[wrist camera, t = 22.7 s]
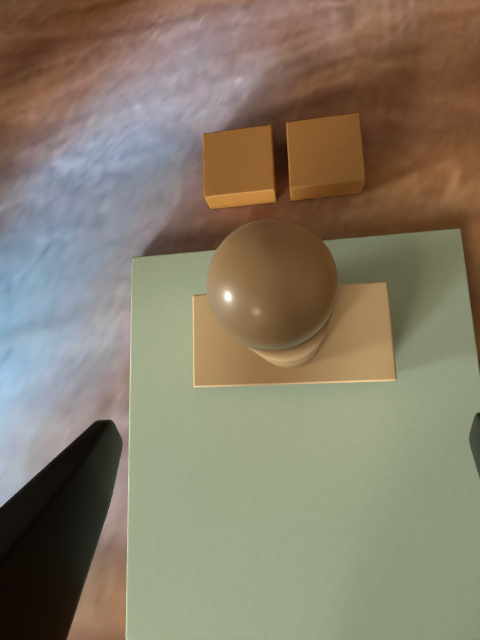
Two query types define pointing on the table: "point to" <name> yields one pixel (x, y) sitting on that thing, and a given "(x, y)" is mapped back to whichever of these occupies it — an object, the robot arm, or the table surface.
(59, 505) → the robot arm
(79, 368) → the table surface
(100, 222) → the table surface
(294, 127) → the block
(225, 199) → the block
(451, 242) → the mat
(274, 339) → the rubber stamp
